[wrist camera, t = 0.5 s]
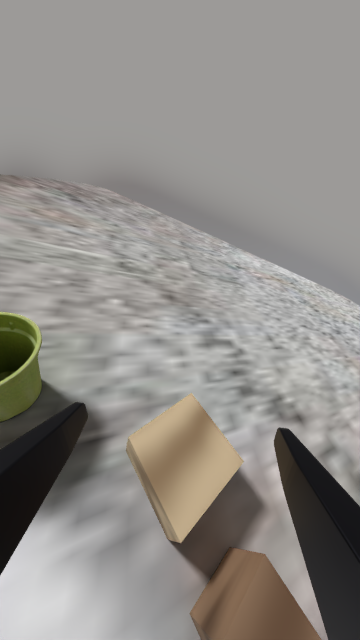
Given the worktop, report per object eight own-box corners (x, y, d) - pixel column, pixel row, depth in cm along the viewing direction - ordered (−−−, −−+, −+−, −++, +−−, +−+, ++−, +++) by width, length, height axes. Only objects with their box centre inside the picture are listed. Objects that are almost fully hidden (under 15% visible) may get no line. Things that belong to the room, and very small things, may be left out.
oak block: (223, 471, 21) (243, 461, 18) (167, 539, 16) (180, 543, 13) (181, 410, 25) (191, 393, 22) (125, 451, 20) (128, 437, 17)
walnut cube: (276, 625, 14) (337, 664, 10) (239, 726, 11) (305, 831, 8) (229, 547, 17) (264, 554, 13) (189, 613, 14) (219, 648, 10)
